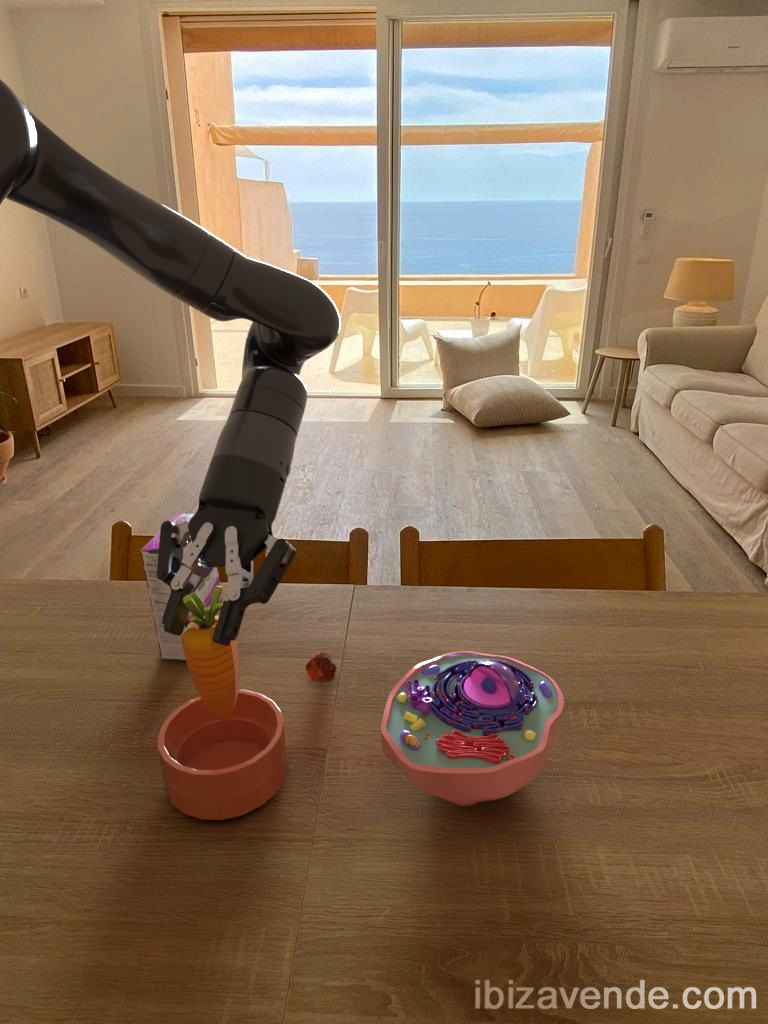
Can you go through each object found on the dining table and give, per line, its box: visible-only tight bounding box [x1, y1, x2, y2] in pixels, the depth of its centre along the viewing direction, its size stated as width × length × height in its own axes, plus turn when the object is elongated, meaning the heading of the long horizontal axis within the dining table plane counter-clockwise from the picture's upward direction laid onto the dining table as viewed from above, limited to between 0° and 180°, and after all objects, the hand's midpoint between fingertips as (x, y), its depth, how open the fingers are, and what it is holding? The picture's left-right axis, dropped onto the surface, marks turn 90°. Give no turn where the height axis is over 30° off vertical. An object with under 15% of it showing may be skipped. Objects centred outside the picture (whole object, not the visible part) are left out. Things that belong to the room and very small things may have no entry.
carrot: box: [181, 585, 241, 722], centre depth 66 cm, size 5×5×15 cm
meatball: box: [305, 651, 338, 683], centre depth 85 cm, size 4×4×4 cm
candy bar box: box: [139, 512, 223, 662], centre depth 92 cm, size 11×5×16 cm, turn 171°
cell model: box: [380, 650, 565, 807], centre depth 70 cm, size 17×20×11 cm
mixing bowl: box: [157, 689, 288, 821], centre depth 71 cm, size 12×12×6 cm
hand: (196, 637), depth 63 cm, fingers closed on carrot, 4 cm apart
